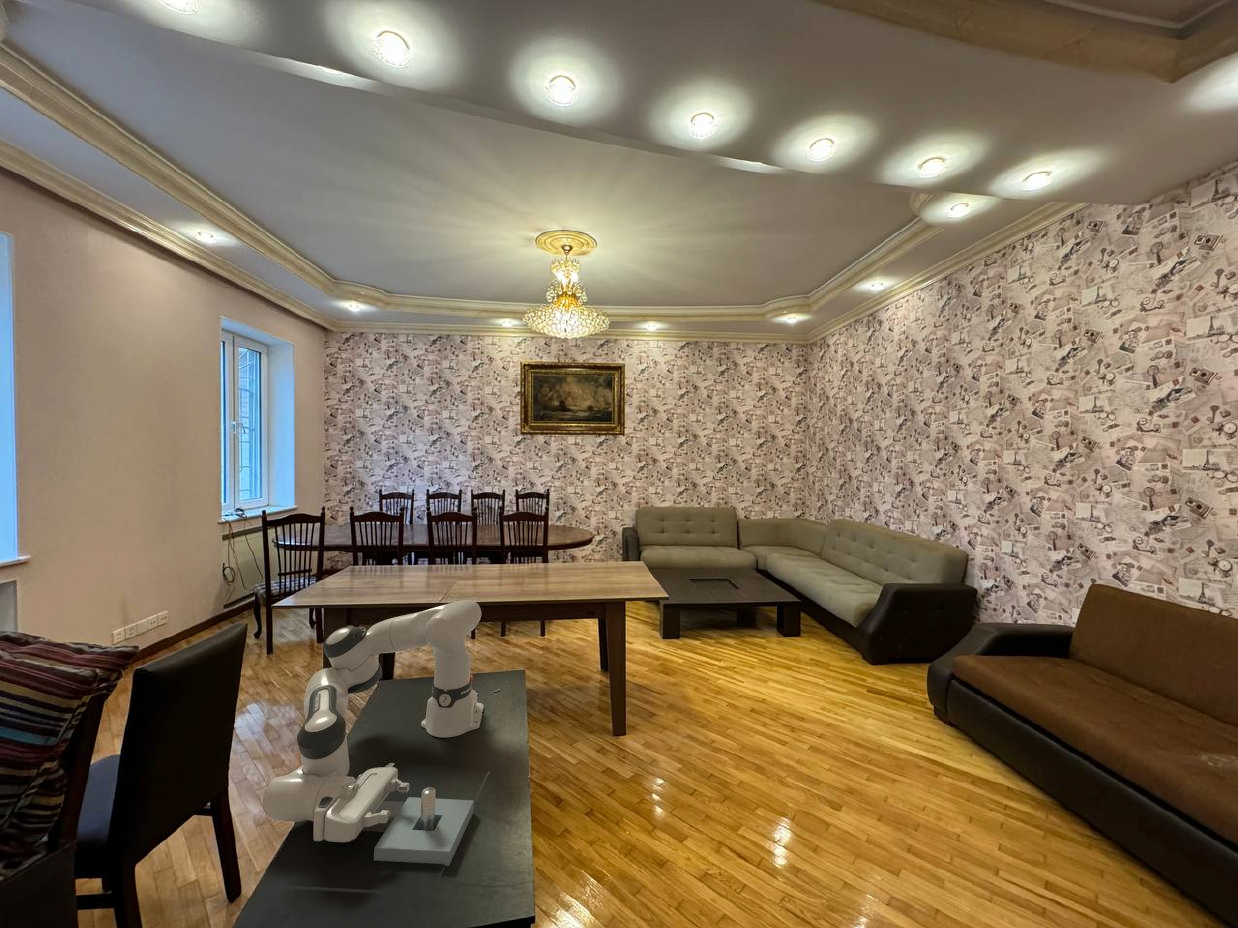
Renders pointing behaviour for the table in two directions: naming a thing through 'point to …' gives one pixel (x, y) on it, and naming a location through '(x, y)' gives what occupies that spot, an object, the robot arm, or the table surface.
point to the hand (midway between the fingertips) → (398, 801)
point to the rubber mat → (394, 809)
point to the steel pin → (428, 809)
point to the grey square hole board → (425, 833)
